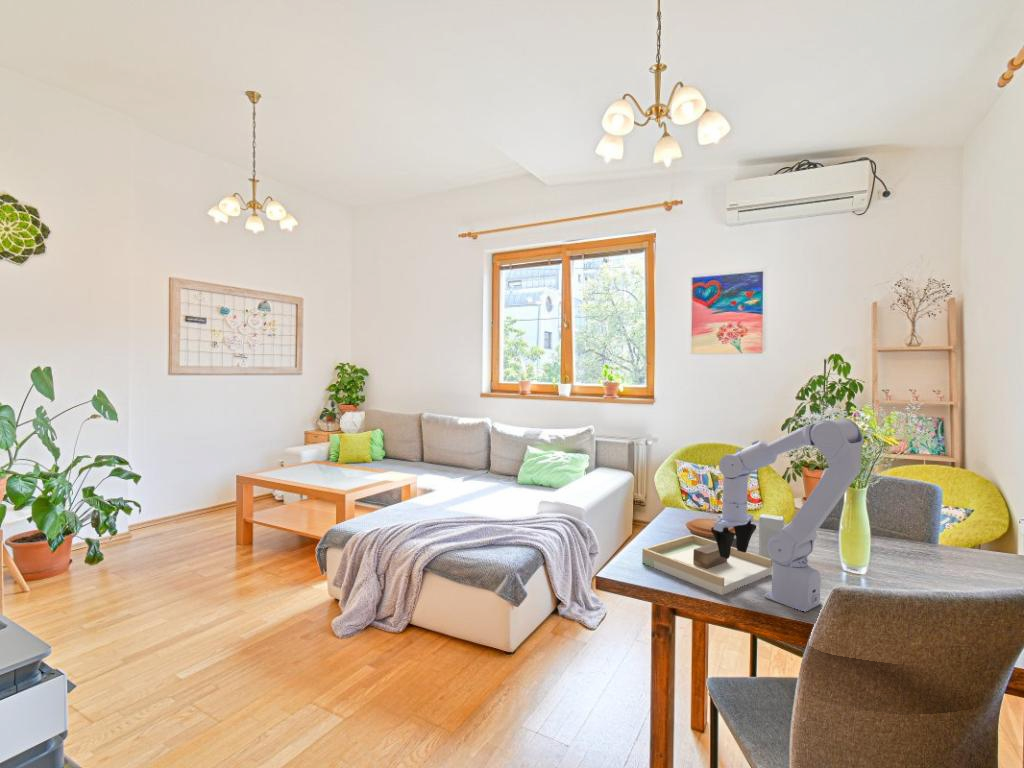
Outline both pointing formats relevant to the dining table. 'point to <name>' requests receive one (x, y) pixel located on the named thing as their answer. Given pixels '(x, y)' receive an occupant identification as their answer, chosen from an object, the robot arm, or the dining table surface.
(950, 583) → the dining table surface
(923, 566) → the dining table surface
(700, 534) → the pie
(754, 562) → the shallow cream tray
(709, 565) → the walnut block
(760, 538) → the skincare box
